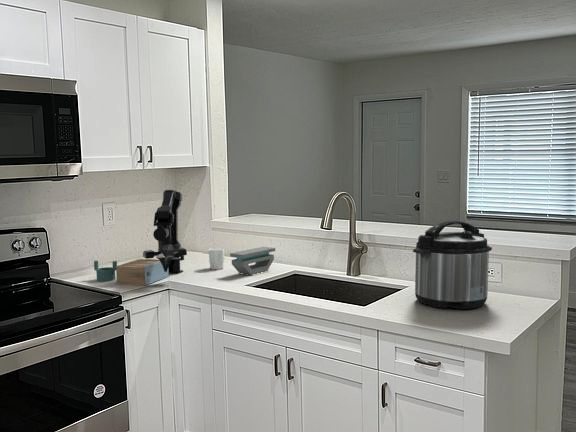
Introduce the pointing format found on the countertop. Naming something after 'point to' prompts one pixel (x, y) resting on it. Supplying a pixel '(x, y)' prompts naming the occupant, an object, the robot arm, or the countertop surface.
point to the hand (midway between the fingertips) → (165, 271)
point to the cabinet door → (154, 273)
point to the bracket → (105, 272)
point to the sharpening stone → (253, 260)
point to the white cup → (216, 258)
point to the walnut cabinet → (133, 272)
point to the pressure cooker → (452, 267)
